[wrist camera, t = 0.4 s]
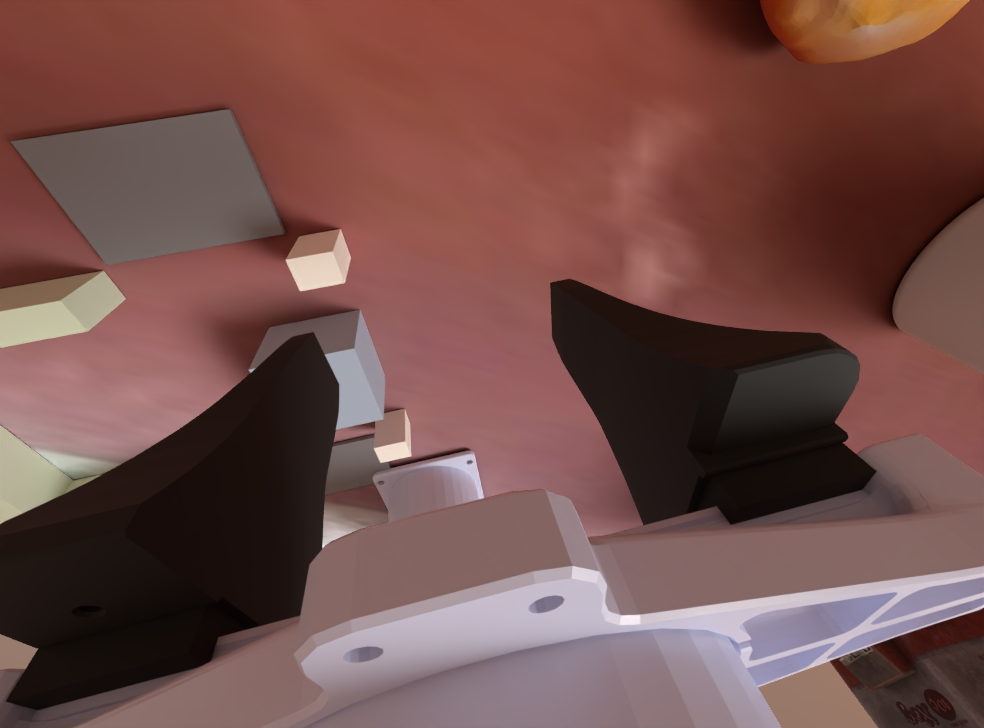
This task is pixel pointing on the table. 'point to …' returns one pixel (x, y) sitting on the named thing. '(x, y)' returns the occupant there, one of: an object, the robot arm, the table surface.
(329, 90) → the table surface
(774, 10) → the fruit
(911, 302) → the cylinder vase
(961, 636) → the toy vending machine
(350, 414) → the block
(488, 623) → the robot arm
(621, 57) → the table surface
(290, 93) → the table surface
